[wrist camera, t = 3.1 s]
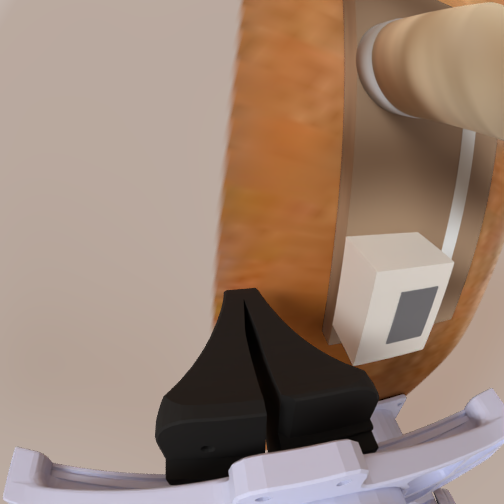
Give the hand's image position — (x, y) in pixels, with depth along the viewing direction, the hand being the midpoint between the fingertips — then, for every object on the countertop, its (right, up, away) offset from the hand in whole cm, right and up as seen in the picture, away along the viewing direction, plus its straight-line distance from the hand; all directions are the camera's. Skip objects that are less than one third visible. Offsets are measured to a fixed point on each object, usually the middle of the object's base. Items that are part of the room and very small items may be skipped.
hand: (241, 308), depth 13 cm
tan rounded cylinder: (+6, +10, -3) cm, 12 cm away
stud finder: (+7, +1, +2) cm, 7 cm away
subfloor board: (+9, +6, +1) cm, 11 cm away
